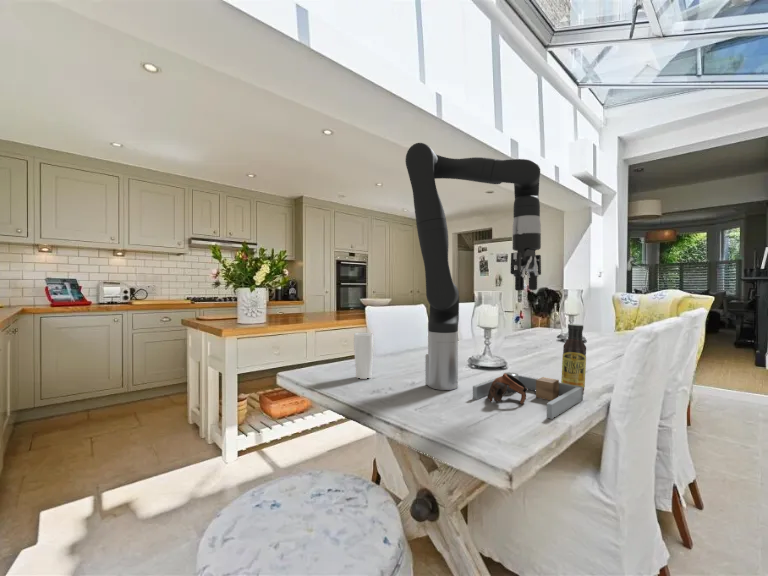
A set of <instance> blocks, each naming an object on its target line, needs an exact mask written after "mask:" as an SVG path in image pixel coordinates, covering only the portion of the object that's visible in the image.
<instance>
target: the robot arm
mask: <svg viewBox="0 0 768 576" xmlns="http://www.w3.org/2000/svg"><path fill="white" fill-rule="evenodd" d="M405 166H406V170H407V174H408V178H409V181H410V186H411V189H412V195H413V196H412V198H413V207H414V215H415V224H416V225H415V226H416V231H417V236H418V242H419V246H420V251H421V255H422V260H423V265H424V275H425V294H426V300H427V301H428V303H429V317H428V322H427V354H425V357H424V358H425V359H424V360H425V362H424V365H425V370H424V371H425V376H424V377H425V382H424V383H425V386H428V387H429V388H430V389H435V390H439V391H440V390H441V391H448V390H449V391H450V390H451V391H452V390H455V389H457V388H458V387H459V320H460V291H459V288H458V287H457V285H456V284H455V282H453V278H452V273H451V270H450V264H449V263H450V262H449V231H448V230H449V229H448V225H447V217H446V213H445V209H444V206H443V203H442V200H441V197H440V195H439V193H438V189H437V183H436V180H437V179H447V180H448V179H449V180H450V179H451V180H462V181H469V182H476V183H482V184H483V183H484V184H490V185H501V184H503V183H504V184H513V186H514V187H513V189H514V202H513V219H512V220H513V221H512V250H513V251H516V252H511V253H510V274H511V275H513V277H514V290H515V291H524V290H525V278H524V276H525V274H526V272H527V275H528V290H530V291H537V289H538V277H539V276H541V275H542V258H541V257H542V256H541V254H536V251H539V250H540V249H541V247H542V246H541V245H542V243H541V242H542V240H541V239H542V237H541V236H542V233H541V232H542V228H541V227H542V224H541V208H540V207H541V202H540V198H539V197H540V195H539V194H540V176H541V168H540V166H539V164H538V163H537V162H535V161H534V160H531V159H525V158H514V159H513V158H512V159H509V158H508V159H498V158H492V157H491V158H489V157H478V156H476V157H463V158H451V157H446V156H442V155H439V154H436V152H435V151H434V150H433V148H432V147H430V146H429V145H428V144H426V143H424V142H417V143H414V144H413V145H411V146H410V147H409V148H408V149H407V152H406V155H405Z"/></svg>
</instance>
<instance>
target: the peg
mask: <svg viewBox="0 0 768 576" xmlns="http://www.w3.org/2000/svg"><path fill="white" fill-rule="evenodd" d="M505 373H506V374H509V375H511V376H513V377H514V378H516V379H518V375H519V374H518V373H516V372H505ZM506 391H508V392H507V393H510V392H517V391H514V390H513V389H511V388H509V385H507V390H506ZM517 393H518V392H517Z"/></svg>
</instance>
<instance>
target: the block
mask: <svg viewBox="0 0 768 576" xmlns="http://www.w3.org/2000/svg"><path fill="white" fill-rule="evenodd" d="M559 383H560V380H559V379H556V378H551V377H544V376H542V377H540V378H538V379H537V380H536V391H535V398H537V397H538V399H541V398H542V399H543V400H546V399H547V400H546V401H550V400H551V401H552V400H554V399H556V398H557V397H559Z"/></svg>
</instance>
